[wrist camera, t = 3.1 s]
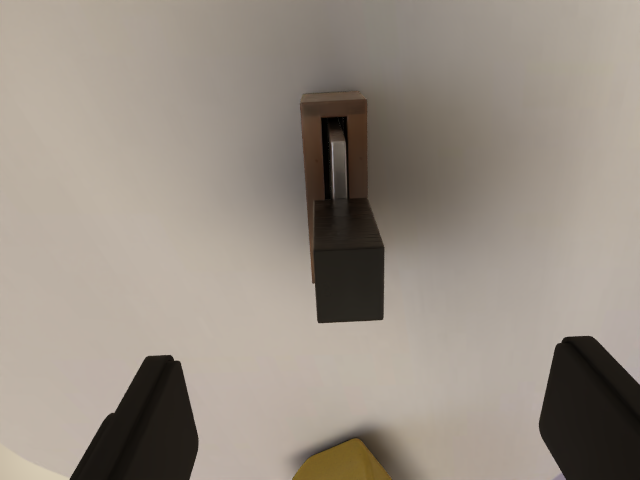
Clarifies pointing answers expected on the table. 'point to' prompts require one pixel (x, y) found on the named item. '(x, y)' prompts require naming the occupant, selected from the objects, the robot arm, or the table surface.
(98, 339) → the table surface
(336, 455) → the flower pot
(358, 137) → the knife block
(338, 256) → the knife
